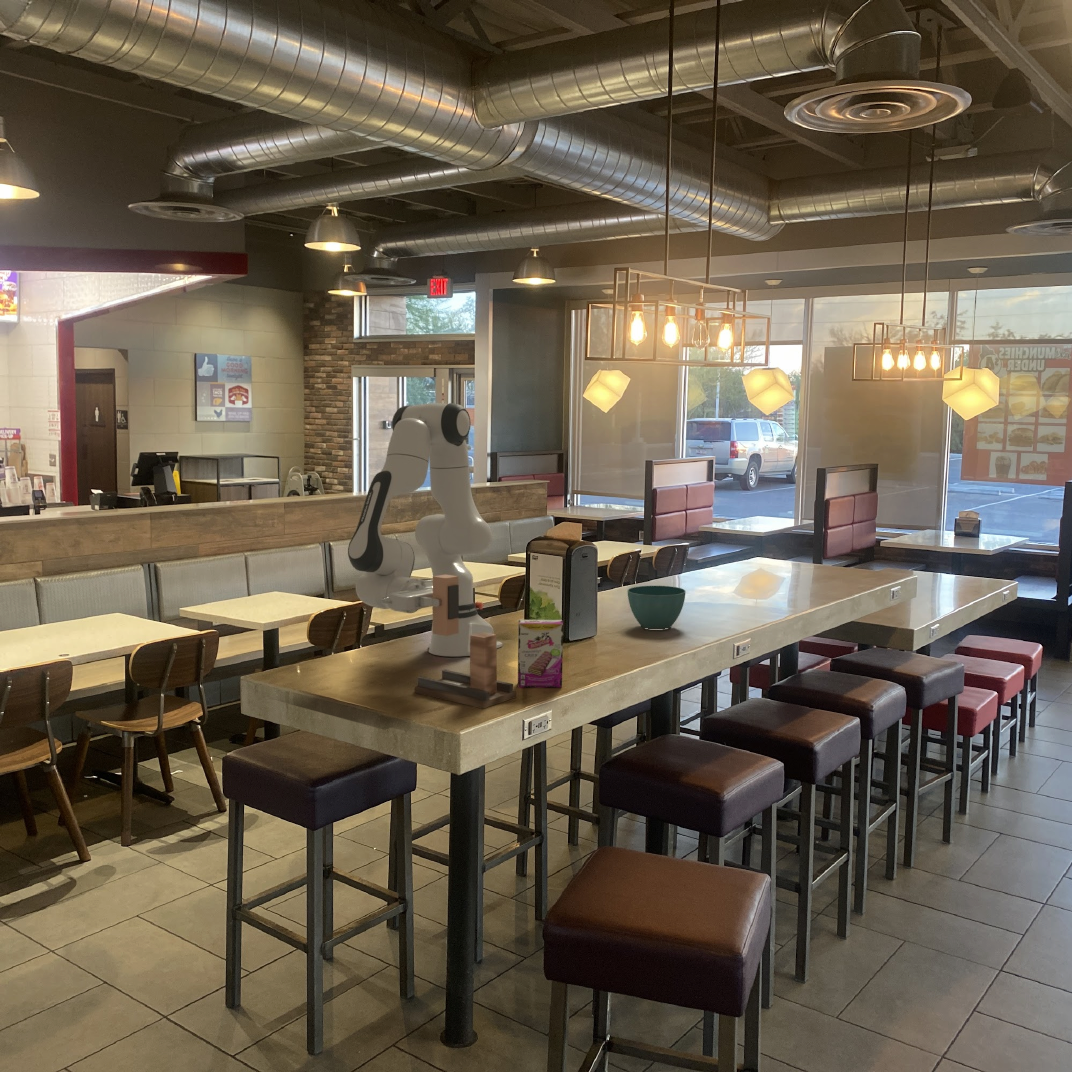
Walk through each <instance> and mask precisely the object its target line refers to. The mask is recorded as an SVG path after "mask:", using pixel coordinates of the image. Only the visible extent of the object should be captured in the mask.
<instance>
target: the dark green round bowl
mask: <svg viewBox="0 0 1072 1072" xmlns="http://www.w3.org/2000/svg"><path fill="white" fill-rule="evenodd" d="M627 598H628V605H629V607H630V609H631V612H632V615H633V616H634V618H635V619H636V621H637V622H638V624H639V625H640V627H642V629H644V628H648V629H665V628H669V629H671V628H672V627H673V625H674V623H675V622H677V619H678V618H679V616H680V615H681V613H682V609H683V607H684V604H685V600H686V590H685V589H683V588H682V587H677V586H672V585H671V586H670V585H640V586H639V585H638V586H633V587H630V588H628V589H627Z"/></svg>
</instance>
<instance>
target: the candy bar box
mask: <svg viewBox="0 0 1072 1072" xmlns="http://www.w3.org/2000/svg"><path fill="white" fill-rule="evenodd" d="M563 622H564V621H563V620H562V619H518V623H517V625H518V628H517V630H518V633H517V635H518V637H517V640H518V641H517V687H518V688H563V661H564V660H563V653H564V652H563V651H564V650H563V649H564V648H563V647H564V646H563V645H564V643H563V642H564V624H563Z"/></svg>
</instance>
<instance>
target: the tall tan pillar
mask: <svg viewBox="0 0 1072 1072" xmlns="http://www.w3.org/2000/svg"><path fill="white" fill-rule="evenodd" d="M432 579H433V598H439V599H442V605H441V606H438V607H435V606H432V607H433V610H432V622H433V634H438V635H443V636H449V635H453V634H457V633H459V576H453V575H446V574H445V575H439V576H433V575H432Z"/></svg>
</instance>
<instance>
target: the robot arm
mask: <svg viewBox="0 0 1072 1072" xmlns="http://www.w3.org/2000/svg"><path fill="white" fill-rule="evenodd" d="M471 423H472V422H471V417H470V414H469V412H468V411H467V409H466V407H464V406H463V405H461V404H457V403H452V402H449V403H443V402H442V403H441V402H428V403H421V404H413V405H412V404H408V405H403V406H400V407H399V408H397V410H396V411H395V413H394V414H393V417H392V421H391V429H392V433H391V436H390V440H389V443H388V447H387V451H386V458H385V462H384V465H383V467H382V469H381V471H380V472H377V473H376V474H375V476H373V479H372V480H371V483H370V485H369V488H368V490H367V491H368V492H367V494H366V498H365V500H364V502H363V503H364V504H363V507H362V510H361V514H360V516H359V519H358V523H357V526H356V529H355V531H354V534H353V535H352V537H351V539H350V542H349V545H348V548H347V556H348V560H349V562H350V564H351V566H352V567H353V568H354V569H355V570H356V571H358V572H364V573H363V574H361V575H360V576H359V577H358V578H357V580H356V582H355V593H356V595H357V597H358V599H359V600H360V601H361V602H362V603H363V604H366V605H367V606H369V607H373V608H375V609H381V610H389V609H390V610H391V611H394V612H399V613H405V614H406V613H407V614H414V613H416V612H418V611H419V610H421V609H424V608H425V609H426V608H429V607H430V608H431V607H432V608H431V609H432V611H433V606H435V607H438V606H441V605H442V599H439V598H433V578H417V577H412V573H413V570H414V566H415V560H416V559H415V556H416V555H415V553H414V549H413V547H412V546H411V545H410V544H409V543H408V542H405V541H402V540H399V539H395V538H392V537H388V536H385V535H382V531H381V528H382V525H383V522H384V519H385V515H386V513H387V508H388V506H389V504H390V501H391V500H392V499H393V498H394V497H396V496H400V495H405V494H411V493H413V492H415V491H417V490H418V489H420V488H421V487H422V486H423V485H424V483H425V481H426V479H427V475H428V470H429V479H430V494H431V496H432V498H433V499H434V500H435V501H436V502H437V503H438V504H439V505H440V508H441V509H442V510H441V511H442V512H443V514H441V513H435V514H431V515H426V516H423V517H421V518H420V519H419V520H418V521H417V523H416V525H415V530H414V535H415V536H414V537H415V541H416V542H417V544H418V545H419V547H421V548H422V550H423V552H424V553H425V555H426V557H427V560H428V562H429V565H430V568H431V573H432V577H433V576H439V575H445V574H446V575H453V576H459V633H457V634H453V635H449V636H443V635H438V634H433V621H431V622H432V623H431V624H432V625H431V632H430V633H431V634H430V643H428V653H430V654H431V655H435V656H438V657H439V656H441V657H470V635H473V634H477V633H481V632H484V633H490V634H495V632H494V628H493V626H492V624H490V623H489V622H488V621H486V620H485V618H482V617H481V616H480V615H479V614H478V611H477V610H483V608H484V603H483V602H478V601H476V602H474V578H473V574H472V573H471V571H470V569H468V567H466V565H465V564H464V562H463V559H462V556H463V557H474V556H480V555H483V554H485V553H487V551H488V550H489V549H490V546H491V545H492V541H493V532H492V529H491V526H490V525H489V524H488V522H486V521H485V519H484V518H483V517H482V516H481V514H480V513H479V510H478V508H477V506H476V504H475V501H474V498H473V494H472V486H471V485H472V484H471V475H470V474H471V473H470V457H469V451H468V445H467V441H466V439H467V437H468V436H469V433H470V430H471ZM502 647H503V642H501V641H499V640H497V649H499V648H502Z"/></svg>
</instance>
